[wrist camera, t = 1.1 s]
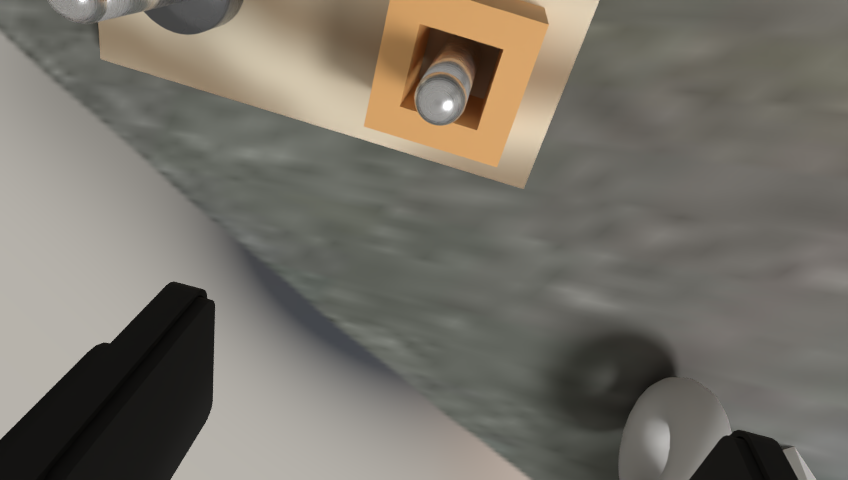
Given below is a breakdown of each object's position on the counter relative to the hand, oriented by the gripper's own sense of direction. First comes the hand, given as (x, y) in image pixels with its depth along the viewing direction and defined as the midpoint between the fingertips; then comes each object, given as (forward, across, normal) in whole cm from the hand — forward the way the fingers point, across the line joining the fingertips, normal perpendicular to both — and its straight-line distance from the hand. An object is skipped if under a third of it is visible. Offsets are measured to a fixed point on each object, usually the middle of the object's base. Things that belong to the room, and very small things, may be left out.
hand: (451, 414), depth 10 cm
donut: (+23, -17, +18) cm, 34 cm away
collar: (+21, +2, -2) cm, 21 cm away
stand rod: (+21, +2, -2) cm, 21 cm away
